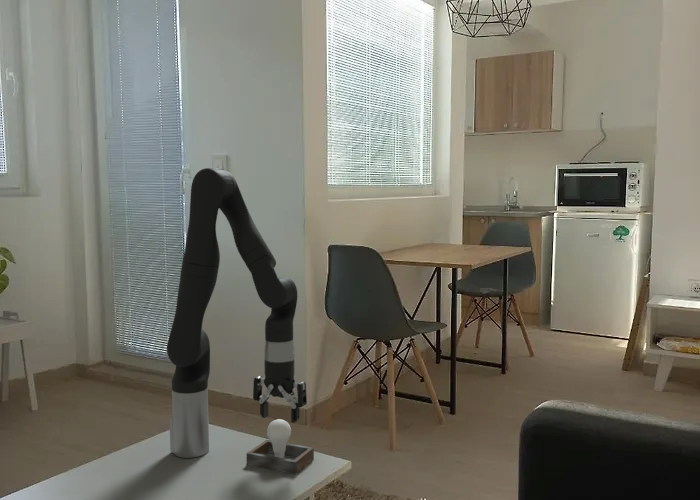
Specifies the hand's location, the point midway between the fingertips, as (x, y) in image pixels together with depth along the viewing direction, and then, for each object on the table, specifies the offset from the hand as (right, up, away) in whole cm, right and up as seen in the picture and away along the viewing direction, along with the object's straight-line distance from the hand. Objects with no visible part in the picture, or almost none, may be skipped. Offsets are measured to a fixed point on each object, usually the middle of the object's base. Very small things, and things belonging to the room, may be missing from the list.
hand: (279, 419), depth 173 cm
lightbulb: (0, -11, +1) cm, 11 cm away
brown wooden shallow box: (0, -11, +1) cm, 11 cm away
